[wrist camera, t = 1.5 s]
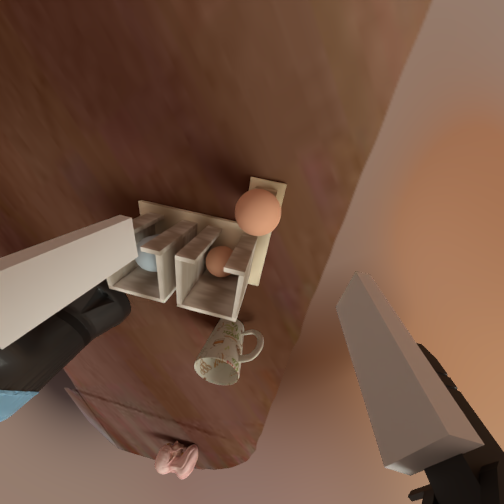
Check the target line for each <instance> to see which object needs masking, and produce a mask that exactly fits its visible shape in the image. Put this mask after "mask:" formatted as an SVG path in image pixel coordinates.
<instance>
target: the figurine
mask: <svg viewBox="0 0 504 504" xmlns="http://www.w3.org/2000/svg"><path fill="white" fill-rule="evenodd" d="M183 447H184V445H183V444H180V443H179V442H178V441H176V442H175V443H174V444H170V443H168V444H167V445H166V444H165V445H163V447H162V448H161V449H160V450H159V453H158V455H157V457H156V460H155V468H156V470H157V472H158V473H160V474H167V473H169V472H171V473H176V475H177V476H178V477H179V478H180V479H184V478H186V477H188V476H189V475H190V474H191V473H192V471H193V469H194V466H195V464H196V461H197V459H198V447H197V445H196V444H193V445H190V446H189V447H188V448H187V449H186V450H185V452H184V453H183V452H182V451H183Z"/></svg>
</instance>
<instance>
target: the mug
mask: <svg viewBox="0 0 504 504" xmlns="http://www.w3.org/2000/svg"><path fill="white" fill-rule="evenodd" d="M249 334H254V335H255V336H256V337H257V340H258V343H257V346H256V348H255V349H254V350H253V351H252V352H251V353H250V354H247V355H242V347H243V336H244V335H249ZM263 344H264V338H263V336H262V334H261V333H260V332H258V331H256V330H247V331H244V326H243V324H242V323H241V322H240V321H239V320H238V319H236V322H234V321H230V320H226V319H223V318H222V319H220V320H219V322H218V323H217V325H216V327H215V328H214V330H213V332H212V333H211V335H210V337H209V338H208V340H207V342H206V344H205V345H204V347H203V349H202V350H201V352H200V354H199V355H198V357H197V359H196V361H195V364H194V368H195V370H196V372H197V373H198V375H199V376H201V377H202V378H203V379H205V380H207V381H209V382H211V383H214V384H218V385H231V384H234V383H235V382H237V381H238V379H239V375H240V367H241V363H242V362H248V361H251V360H253V359H254V358H256V357H257V355H258V354H259V353H260V351H261V350H262V348H263Z"/></svg>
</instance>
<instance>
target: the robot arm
mask: <svg viewBox="0 0 504 504" xmlns="http://www.w3.org/2000/svg"><path fill="white" fill-rule="evenodd" d="M137 257H138V253H137V247H136V241H135V234H134V228H133V222H132V218H131V217H127V216H123V215H118V216H115V217H112V218H110V219H107V220H104V221H101V222H98V223H96V224H93V225H90V226H87V227H85V228H82V229H79V230H76V231H73V232H71V233H68V234H65V235H62V236H60V237H57V238H54V239H51V240H49V241H46V242H43V243H40V244H37V245H35V246H32V247H29V248H26V249H24V250H21V251H18V252H15V253H13V254H10V255H7V256H4V257H1V258H0V422H1V421H4V420H5V419H7V418H9V417H10V416H12V415H13V414H14V413H15V412H16V411H17V410H18V409H20V408H21V407H22V406H23V405H24V404H25V403H27V402H28V401H29V400H30V399H31V398H32V397H33V396H35V395H37V394H38V393H39V391H40V390H41V389H42V388H43V387H44V386H45V385H46V384H47V383H48V382H49V381H50V380H51V379H52V378H53V377H54V376H55V375H56V374H57V373H58V372H59V371H60V370H62V369H63V368H64V367H65V366H66V365H67V364H68V363H69V362H70V361H71V360H72V359H73V358H74V357H75V356H76V355H77V354H78V353H79V352H80V351H81V350H82V349H83V348H84V347H85V346H86V345H88V344H89V343H90V342H91V341H92V340H93V339H94V338H96V337H98V336H99V335H101V334H103V333H104V332H106V331H108V330H109V329H111V328H112V327H115V326H117V325H119V324H120V323H121V322H122V321H123V320H124V319H125V318H126V317H127V316H128V315H129V314H130V310H131V308H130V303H129V301H128V298H127V297H126V295H125V294H124V292H121V291H117V290H113V289H109V286H108V283H107V279H106V278H108V277H109V276H111V275H112V274H114V273H115V272H117V271H118V270H120V269H121V268H122V267H124V266H125V265H127V264H128V263H130V262H131V261H133V260H134V259H136V258H137ZM336 310H337V314H338V317H339V320H340V323H341V327H342V330H343V333H344V336H345V339H346V343H347V346H348V350H349V353H350V356H351V359H352V362H353V366H354V369H355V372H356V376H357V379H358V382H359V386H360V389H361V392H362V395H363V398H364V402H365V405H366V408H367V411H368V415H369V418H370V421H371V425H372V428H373V431H374V435H375V438H376V441H377V444H378V448H379V451H380V454H381V457H382V461H383V464H384V467H385V468H388V469H391V470H395V471H398V472H401V473H404V474H407V475H413V474H416V473H418V472H420V471H423V470H424V471H425V473H426V475H427V478H428V480H429V482H430V484H429V485H426V486H423V487H421V488H417V489H415V490H412V491H411V492H410V494H409V495H408V497H409V498H410V500H411V501H415V500H419V499H422V498H423V500H422V504H504V452H503V451H502V449H501V448H500V446H499V445H498V444H497V442H496V441H495V440H494V438H493V437H492V435H491V434H490V433H489V431H488V430H487V429H486V427H485V426H484V424H483V423H482V421H481V420H480V419H479V418H478V416H477V415H476V413H475V412H474V410H473V409H472V408H471V406H470V405H469V403H468V402H467V401H466V399H465V398H464V396H463V395H462V394H461V392H459V391H457V387H456V385H455V384H454V383H453V381H452V380H451V378H449V377H448V376H447V373H446V372H445V370H444V369H443V367H442V366H441V365H440V363H439V362H438V360H437V359H436V358H435V357H434V356H433V355H432V354H431V353H430V352H429V351H428V350H427V349H426V348H425V347H424V346H423V345H422V344H418V343H416V342H415V341H414V339H413V338H412V336H411V335H410V333H409V332H408V330H407V329H406V327H405V326H404V324H403V323H402V321H401V320H400V318H399V317H398V315H397V314H396V312H395V311H394V309H393V308H392V307H391V305H390V303H389V302H388V300H387V299H386V298H385V296H384V295H383V293H382V292H381V290H380V289H379V287H378V286H377V284H376V283H375V281H374V280H373V278H372V277H371V275H370V274H366V273H362V272H358V271H355V273H354V275H353V277H352V279H351V280H350V282H349V284H348V285H347V287H346V289H345V291H344V293H343V294H342V296H341V298H340V300H339V301H338V304H337V305H336Z"/></svg>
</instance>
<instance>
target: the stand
mask: <svg viewBox="0 0 504 504" xmlns="http://www.w3.org/2000/svg"><path fill="white" fill-rule="evenodd" d="M286 185H287V184H285V183H280V182H275V181H271V180H266V179H261V178H256V177H251V179H250V186H249V191H250V190H252V189H264V190H267V191H269V192H270V193H272V194H273V195H274V196H275V197H276V198H277V200H278V201H279V204H280V207H281V205H282V201H283V197H284V193H285V189H286Z"/></svg>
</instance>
